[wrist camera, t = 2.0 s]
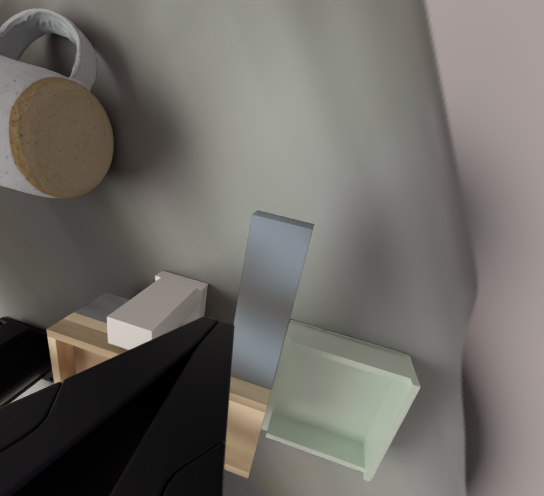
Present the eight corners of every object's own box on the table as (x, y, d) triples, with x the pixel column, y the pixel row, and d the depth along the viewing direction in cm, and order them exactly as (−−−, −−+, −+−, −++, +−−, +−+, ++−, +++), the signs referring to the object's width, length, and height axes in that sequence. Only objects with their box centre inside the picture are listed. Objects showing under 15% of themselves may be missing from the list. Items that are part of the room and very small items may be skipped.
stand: (195, 391, 26) (153, 462, 20) (157, 378, 27) (106, 443, 21) (208, 283, 22) (159, 333, 16) (162, 270, 22) (99, 314, 16)
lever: (265, 412, 23) (247, 478, 18) (108, 357, 25) (57, 404, 20) (317, 212, 16) (310, 236, 12) (100, 160, 19) (22, 163, 14)
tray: (366, 443, 24) (370, 481, 21) (267, 408, 25) (258, 440, 22) (409, 354, 20) (420, 387, 17) (290, 319, 21) (283, 344, 18)
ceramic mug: (122, 196, 21) (13, 217, 14) (32, 171, 22) (-112, 178, 15) (126, 32, 17) (-21, -56, 10) (17, 10, 18) (-185, -83, 11)
